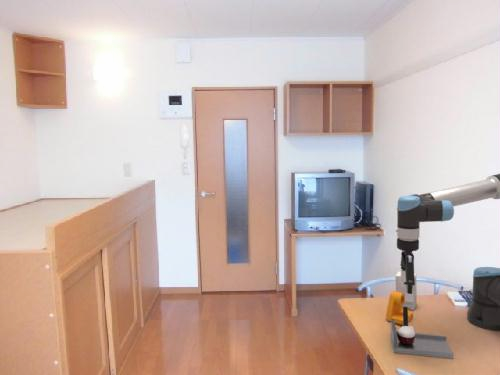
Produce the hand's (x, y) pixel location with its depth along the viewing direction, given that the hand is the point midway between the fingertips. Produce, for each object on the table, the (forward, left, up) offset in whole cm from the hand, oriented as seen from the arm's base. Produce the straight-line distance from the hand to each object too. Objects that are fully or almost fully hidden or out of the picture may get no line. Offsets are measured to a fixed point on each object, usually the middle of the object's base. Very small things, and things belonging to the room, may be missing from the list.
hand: (406, 293), depth 145 cm
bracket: (0, -21, -21) cm, 29 cm away
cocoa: (0, 0, -20) cm, 20 cm away
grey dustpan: (-5, 0, -20) cm, 21 cm away
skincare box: (-4, -35, -21) cm, 41 cm away
